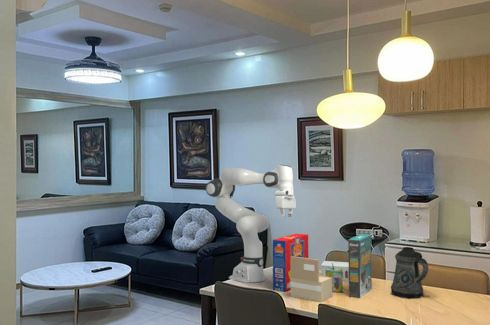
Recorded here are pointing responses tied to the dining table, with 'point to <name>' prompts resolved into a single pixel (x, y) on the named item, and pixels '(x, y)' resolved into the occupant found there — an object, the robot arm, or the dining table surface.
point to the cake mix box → (359, 265)
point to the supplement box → (336, 265)
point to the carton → (312, 288)
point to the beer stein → (408, 274)
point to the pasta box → (287, 258)
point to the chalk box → (335, 278)
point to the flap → (305, 268)
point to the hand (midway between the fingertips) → (286, 216)
